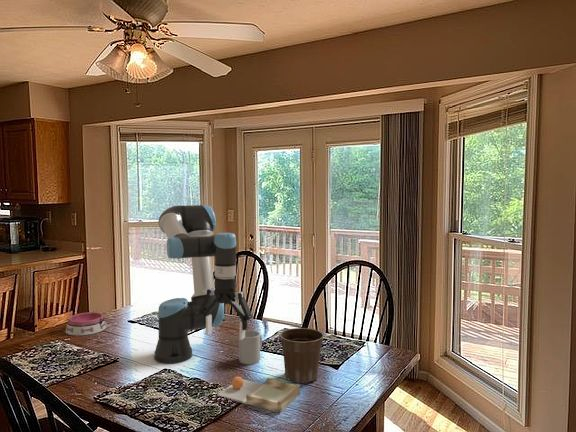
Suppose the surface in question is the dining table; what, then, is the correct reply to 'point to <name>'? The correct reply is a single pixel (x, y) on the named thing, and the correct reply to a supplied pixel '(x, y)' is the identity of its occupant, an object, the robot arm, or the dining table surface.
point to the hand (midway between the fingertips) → (225, 336)
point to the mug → (250, 347)
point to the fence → (272, 404)
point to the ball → (237, 382)
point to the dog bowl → (85, 324)
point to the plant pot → (301, 354)
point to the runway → (253, 392)
